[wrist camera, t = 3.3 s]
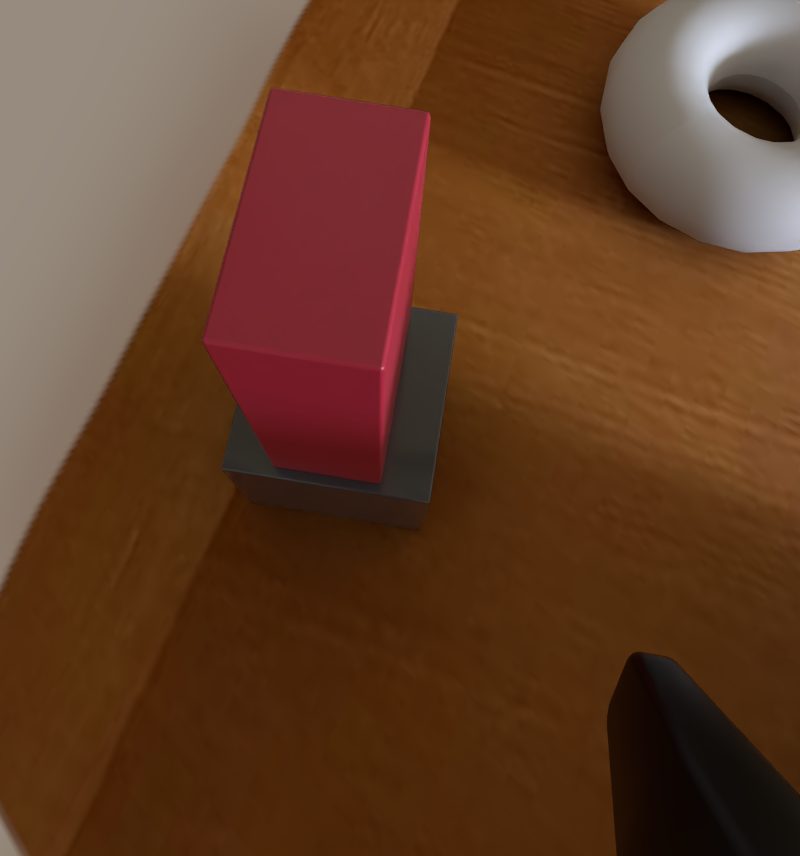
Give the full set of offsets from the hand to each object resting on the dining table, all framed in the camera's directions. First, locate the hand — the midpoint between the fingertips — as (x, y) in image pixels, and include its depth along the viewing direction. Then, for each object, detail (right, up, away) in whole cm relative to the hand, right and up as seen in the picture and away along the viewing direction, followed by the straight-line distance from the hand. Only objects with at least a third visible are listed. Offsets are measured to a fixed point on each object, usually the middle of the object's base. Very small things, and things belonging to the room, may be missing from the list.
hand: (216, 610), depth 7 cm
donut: (+14, +12, +17) cm, 25 cm away
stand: (+1, +2, +13) cm, 13 cm away
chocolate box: (+1, +3, +9) cm, 10 cm away
